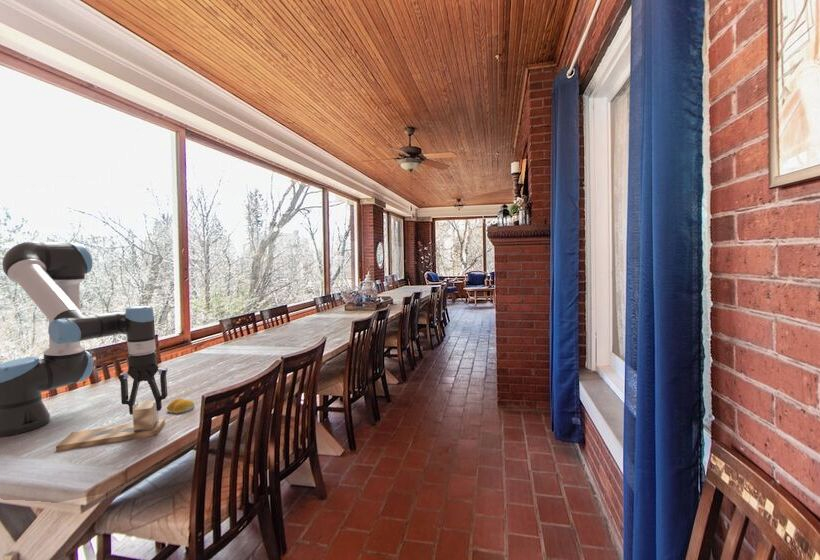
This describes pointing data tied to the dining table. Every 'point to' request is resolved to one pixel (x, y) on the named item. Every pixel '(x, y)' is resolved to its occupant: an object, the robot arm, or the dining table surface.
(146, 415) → the block
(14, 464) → the dining table surface
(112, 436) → the oak plank
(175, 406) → the bread roll
